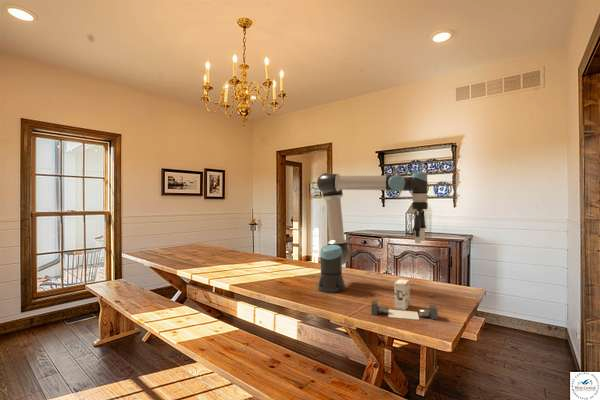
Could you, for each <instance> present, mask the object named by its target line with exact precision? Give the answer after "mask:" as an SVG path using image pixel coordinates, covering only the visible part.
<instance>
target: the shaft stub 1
mask: <svg viewBox="0 0 600 400" xmlns="http://www.w3.org/2000/svg"><path fill="white" fill-rule="evenodd" d="M378 304H379V301H378V300H374V299H373V300H371V305H370V306H371V315H375V316H378V314H386V315H387V314H388V306H385V305H378Z"/></svg>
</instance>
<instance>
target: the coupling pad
mask: <svg viewBox="0 0 600 400" xmlns="http://www.w3.org/2000/svg"><path fill="white" fill-rule="evenodd" d="M418 312H419V311H413V310H412V311H411V310H400V309H388V318H389V319H390V318H391V319H402V320H413V321H420V315H419V313H418Z"/></svg>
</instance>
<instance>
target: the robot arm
mask: <svg viewBox="0 0 600 400" xmlns="http://www.w3.org/2000/svg"><path fill="white" fill-rule="evenodd" d="M316 186H317V189H319V191H320V192H321V193H322V197H323V198H324V199H325V202H326V203H325V204H326V212H327V213H326V214H327V215H326V216H327V224H328V225H327V226H328V235H329V240H328V242H327V244H326V245H324V246H322V247H321V248H320V252H319V253H320V255H319V256H320V277H319V280H318V282H317V290H318V291H320V292H324V293H333V294H334V293H341V292H344V291H346V283H345V280H344V277H343V267H342V266H343V265H344V264H346V263H347V262H348V261H349V259H350V257H351V251H350V249H349V247H348V241H347V240H346V239H345V234H344V225H343V224H344V223H343V211H342V201H341V199H342V197H343V196H344V195H343V194H344V193H343V190H347V191H349V190H351V191H353V190H355V191H358V190H359V191H361V190H362V191H391V192H405V191H406V192H407V191H409V192H411V191H412V197H411V201H412V209H413V210H416V211H415V212H414V214H415V215H414V225H413V228H412V231H414V244H421V241H425V240H426V237H425V236H426V229H427V226H426V219H425V210H427V209H428V202H427V201H428V198H429V195H428V174H427V173H426V172H413V173H412V175H411V176H402V175H400V174H394V175H340V174H339V173H330V172H324V173H322V174H320V175H319V177H318V178H317V180H316Z"/></svg>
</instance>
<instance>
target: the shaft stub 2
mask: <svg viewBox="0 0 600 400" xmlns="http://www.w3.org/2000/svg"><path fill="white" fill-rule="evenodd" d="M428 306H429V308H428V309H423V308H419V309H418V310H419V311H418V312H419V313H418V316H419V318H420V317H421V318H430V320H431V321H432V320H434V321H438V308H437V305H435V304H429V305H428Z"/></svg>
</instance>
